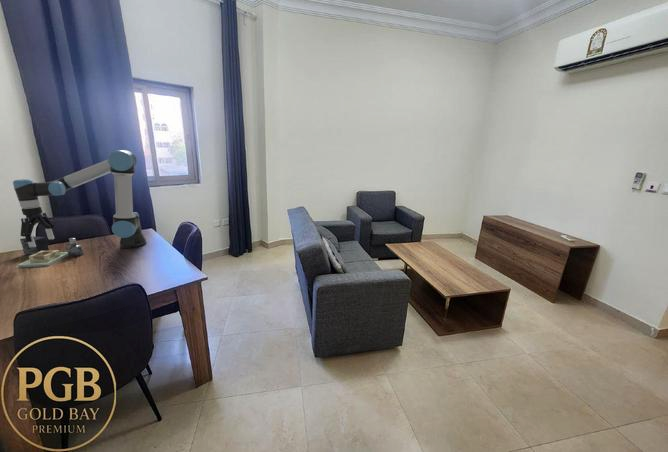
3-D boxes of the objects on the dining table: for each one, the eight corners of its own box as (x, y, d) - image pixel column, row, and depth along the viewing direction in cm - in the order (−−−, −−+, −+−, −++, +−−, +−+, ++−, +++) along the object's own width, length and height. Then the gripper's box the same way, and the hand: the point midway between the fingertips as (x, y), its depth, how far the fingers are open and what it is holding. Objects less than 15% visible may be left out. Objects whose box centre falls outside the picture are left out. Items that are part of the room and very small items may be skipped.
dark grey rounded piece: (86, 252, 172) (82, 236, 169) (79, 256, 166) (74, 240, 163) (73, 253, 171) (69, 236, 168) (65, 257, 164) (61, 240, 161)
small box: (50, 252, 171) (46, 236, 169) (39, 256, 165) (34, 240, 162) (36, 251, 172) (31, 235, 169) (23, 255, 166) (19, 239, 163)
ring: (43, 256, 163) (41, 250, 161) (60, 256, 165) (59, 250, 163) (30, 262, 154) (28, 256, 153) (49, 262, 156) (47, 255, 155)
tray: (70, 254, 169) (70, 251, 169) (48, 265, 152) (48, 263, 152) (44, 255, 166) (43, 253, 166) (18, 267, 149) (17, 265, 149)
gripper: (40, 203, 161) (51, 236, 167) (1, 212, 138) (15, 251, 144) (55, 202, 163) (65, 235, 169) (19, 212, 140) (32, 250, 146)
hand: (42, 242), depth 157 cm, fingers open, 13 cm apart
